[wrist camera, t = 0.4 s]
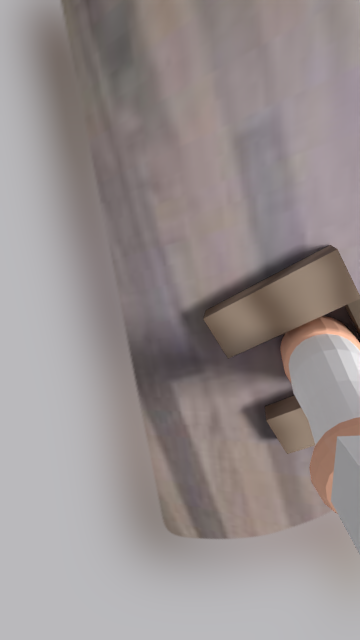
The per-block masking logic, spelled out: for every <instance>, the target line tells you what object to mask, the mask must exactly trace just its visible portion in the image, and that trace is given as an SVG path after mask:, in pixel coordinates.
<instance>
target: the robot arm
mask: <svg viewBox="0 0 360 640" xmlns="http://www.w3.org/2000/svg"><path fill="white" fill-rule="evenodd" d="M331 502H332V504H333V506H334V508H335V510H336V511H337V513H338V515H339V517H340V519H341V520H342V523H343V524H344V526H345V528H346V530H347V532H348V534H349V535H350V537H351V539H352V541H353V543H354V545H355V546H356V548H357V550H358V552H359V554H360V435H359V436H337V443H336V453H335V463H334V473H333V484H332V494H331Z"/></svg>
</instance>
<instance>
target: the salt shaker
mask: <svg viewBox="0 0 360 640" xmlns="http://www.w3.org/2000/svg"><path fill="white" fill-rule="evenodd" d="M280 350H281V356H282V361H283V366H284V370H285V374H286V376H287V377H288V379H289V381H290V382H291V383H292V388H293V393H294V395H295V397H296V399H297V401H298V403H299V404H300V406H301V408H302V410H303V412H304V413H305V415H306V417H307V419H308V421H309V424H310V428H311V431H312V435H313V438H314V441H315V445H316V446H315V448H314V451H313V455H312V458H311V462H310V475H311V481H312V483H313V485H314V487H315V488H316V490H317V492H318V493H319V495H320V497H321V498H322V500H323V502H324V503H325V504H326V505H327V506H328V507H329V508H331V509H332V510H333V511H334V512H335V513H337V511H336V510H335V508H334V506H333V504H332V502H331V494H332V484H333V473H334V463H335V453H336V443H337V436H359V435H360V342H359V341H358V340H357V339H356V337H355V336H354V335H353V333H352V332H351V331H350V330H349V328H347V327H346V326H345V325H344V324H343V323H342V322H341V321H338V320H336V319H334V318H331V317H325V316H321V317H319V318H317V319H314V320H312V321H310V322H308V323H306V324H303V325H301V326H299V327H297V328H295V329H292V330H290V331H288V332H286V333H285V335H284V337H283V338H282V342H281V347H280ZM337 514H338V513H337Z"/></svg>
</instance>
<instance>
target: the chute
mask: <svg viewBox="0 0 360 640" xmlns="http://www.w3.org/2000/svg"><path fill="white" fill-rule="evenodd" d="M343 306H345V307H346V309H347V311H348V313H349V315H350V317H351V319H352V321H353V323H354V325H355V327H356V329H357V331H358V333H359V335H360V295H359V293H358V291H357V289H356V287H355V285H354V283H353V280H352V278H351V276H350V274H349V272H348V270H347V268H346V266H345V264H344V262H343V260H342V258H341V256H340V253H339V251H338V249H336V248H335V247H333V246H331V245H329V246H327V247H325V248H323V249H322V250H320V251H318V252H316V253H314V254H312V255H310V256H308V257H306V258H304V259H303V260H301V261H299V262H297V263H295V264H293V265H291V266H289V267H287V268H285V269H284V270H282V271H280V272H278V273H276V274H274V275H272V276H270V277H268V278H266V279H265V280H263V281H261V282H259V283H257V284H255V285H253V286H251V287H249V288H247V289H246V290H244V291H242V292H240V293H238V294H236V295H234V296H232V297H230V298H229V299H227V300H225V301H223V302H221V303H219V304H217V305H215V306H213V307H211V308H210V309H208V310H206V312H205V315H204V318H203V319H204V321H205V323H206V324H207V326H208V327H209V329H210V331H211V332H212V334H213V335H214V337H215V339H216V340H217V342H218V343H219V345H220V347H221V348H222V350H223V352H224V353H225V355H226V356H227V358H228V359H229V358H231V357H233V356H235V355H237V354H240V353H242V352H244V351H246V350H248V349H251V348H253V347H255V346H257V345H259V344H262V343H264V342H266V341H268V340H270V339H273V338H275V337H277V336H279V335H281V334H284V333H286V332H288V331H290V330H292V329H295V328H297V327H299V326H301V325H303V324H306V323H308V322H310V321H312V320H314V319H317V318H319V317H321V316H323V315H325V314H328V313H330V312H332V311H334V310H336V309H339V308H341V307H343ZM265 413H266V421H267V422H268V424H269V426H270V427H271V429H272V431H273V432H274V434H275V435H276V437H277V439H278V440H279V442H280V443H281V445H282V447H283V448H284V450H285V451H286V453H287V454H289V453H292V452H296V451H299V450H302V449H305V448H308V447H311V446H314V445H315V441H314V438H313V435H312V431H311V428H310V424H309V421H308V419H307V417H306V415H305V413H304V412H303V410H302V408H301V406H300V404H299V403H298V401H297V399H296V397H295V395H294V396H291V397H289V398H286V399H283V400H281V401H278V402H275V403H273V404H270V405H268V406H265Z"/></svg>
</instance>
